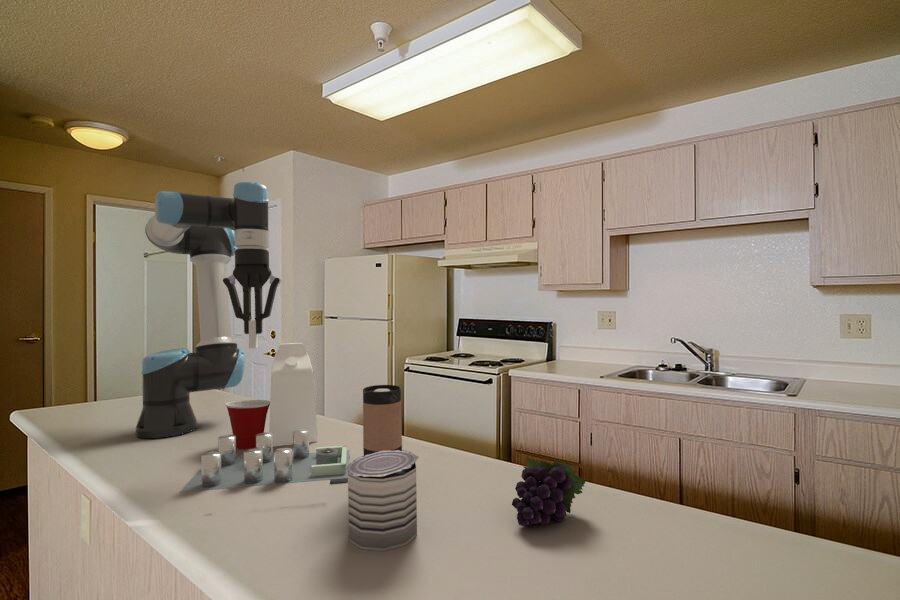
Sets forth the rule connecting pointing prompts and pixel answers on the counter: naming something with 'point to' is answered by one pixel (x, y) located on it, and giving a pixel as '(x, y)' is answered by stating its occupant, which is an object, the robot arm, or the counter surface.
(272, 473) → the board
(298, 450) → the spacers
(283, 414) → the milk
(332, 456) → the nut
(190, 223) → the robot arm
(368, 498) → the can
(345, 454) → the parts pocket
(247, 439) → the plastic cup
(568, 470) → the fruit
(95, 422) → the counter surface
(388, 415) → the travel mug
